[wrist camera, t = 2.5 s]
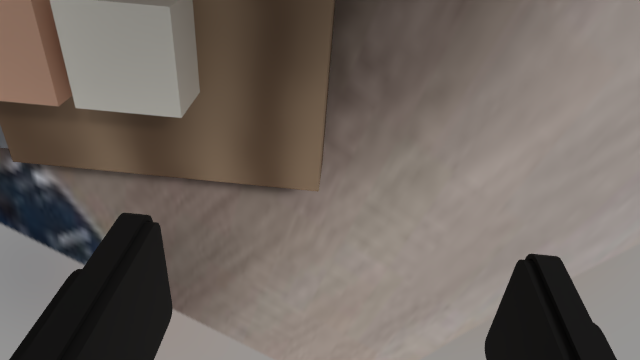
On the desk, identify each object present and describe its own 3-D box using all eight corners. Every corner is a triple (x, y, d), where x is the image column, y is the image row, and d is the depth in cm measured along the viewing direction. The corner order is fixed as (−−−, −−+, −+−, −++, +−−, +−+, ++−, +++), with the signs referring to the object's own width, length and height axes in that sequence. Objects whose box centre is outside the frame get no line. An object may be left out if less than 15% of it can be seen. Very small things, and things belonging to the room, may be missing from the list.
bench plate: (346, -143, 21) (344, -144, 19) (322, 164, 30) (318, 191, 27) (-51, -175, 21) (-105, -180, 19) (41, 137, 30) (12, 161, 28)
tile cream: (191, -10, 22) (169, 6, 19) (200, 92, 25) (181, 118, 22) (84, -19, 22) (48, -4, 19) (104, 83, 25) (75, 108, 22)
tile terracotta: (67, -21, 22) (29, -6, 19) (89, 81, 25) (58, 106, 22) (-39, -30, 22) (-90, -17, 20) (-5, 73, 25) (-46, 96, 22)
